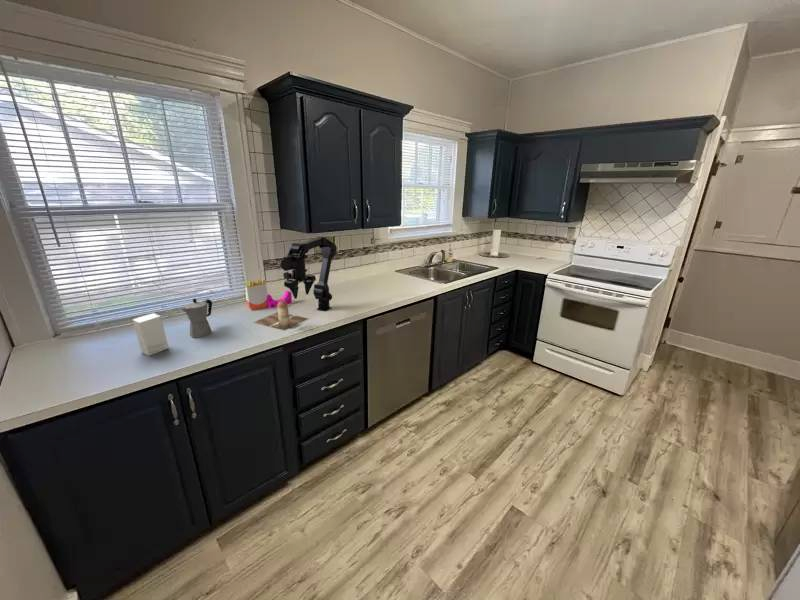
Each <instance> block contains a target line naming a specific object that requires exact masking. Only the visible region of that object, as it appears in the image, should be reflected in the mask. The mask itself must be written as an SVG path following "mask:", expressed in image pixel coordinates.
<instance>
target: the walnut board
mask: <svg viewBox="0 0 800 600" xmlns="http://www.w3.org/2000/svg"><path fill="white" fill-rule="evenodd" d="M309 319H310V317H309V318H308V317H304V316H299V315H296V314H291V313H289V323H290V326H289V327H287V328H280V327H279V318H278V311H277V312H275V313H273V314H270V315H267V316H265V317H263V318H261V319H258V320H256V321H253V322H252V323H254V324H256V325H262V326H264V327H268V328H273V329H276V330H280V331H284V332H285V331H287V330H289V329H292V328H293V327H295V326H297V325H299V324H301V323H303V322H306V321H308V320H309Z"/></svg>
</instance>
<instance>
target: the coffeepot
mask: <svg viewBox="0 0 800 600" xmlns="http://www.w3.org/2000/svg"><path fill="white" fill-rule="evenodd" d="M212 307H213V301H212V300H210V299H209V298H207V299H204V300H201V301H197V298H193V299H192V302H190V303H187V304H185V305H183V308H182V312H184V313H186V317H187V319H188V320H189V322H190V323H189V336H190V337H191V338H194V339H202V338H205V337H208V336H210V335H211V334H212V332H213V330H212V328H211V325H210V323H209V321H208V319H207V317H209V316H211V315H212Z"/></svg>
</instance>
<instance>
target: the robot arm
mask: <svg viewBox="0 0 800 600" xmlns="http://www.w3.org/2000/svg"><path fill="white" fill-rule="evenodd" d="M317 247H319V249H321V250H320V251H321V256H322V262H321V266H320V267H321V268H320V272H319V277H318V278H319V279H318V282H317V283H315V281H316V280H317V279H316V278H317V277H316V276H315V275H314V274H307V273H306V272H308V269H307V268H306V259H308V258H309V257H308V255H306V254H308V253H309V251H310V250H312V249H315V248H317ZM337 250H338V247H337V245H336V244H335V243H334V242H333V241H330V240H329V239H328V238H327V237H325V236H317V237H315V238H313V239H309V240H307V241H302V242H293V243H292V244H291V246H290V248H289V250H288V251H287V254H286V256H283V258H282V260H281V262H280V267H281V268H280V269H282V270H283V271H285V272H284V273H283V276H282V277H283V279H285V281H284V282H283V286H284V287H285V288H288V290H289V291H290V292H291V295H292V296H293V298H294V300H295V299H297V298H298V295H299V288H300V287H299V284H300V283H303V285H304V290H305V295H309V293H310V291H311V289H312V287H313V289H312V292H313V293H312V294H313V295H314V298H315V300H318V302H317V303H318V304H317V305H318V308H316V310H318V311H322V312H327V311H329V310H331V309H332V306H330V301H331V300H333V295H332V293H331V292H330V287H329V284H328V282H329V275H330V271H331V266H332V265H331V264H332V260H333V259H334V257H335V256H336V253H337ZM288 271H291V272H288ZM314 283H315V284H314Z"/></svg>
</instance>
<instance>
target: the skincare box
mask: <svg viewBox="0 0 800 600" xmlns="http://www.w3.org/2000/svg"><path fill="white" fill-rule="evenodd" d="M132 323H133V327H134V330H135V333H136V334H135V335H136V337H137V341H138V345H139V348H140V353H142V354H144V355H146V356H152V355H155V354H158V353H161V352H162V351H166V350H169V344H168V339H167V335H166V331H165V328H164V327H165V326H164V323H163V320H162V316H161V315H159V314H157V313H150V314H147V315H143V316H139V317H137V318H132Z"/></svg>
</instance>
